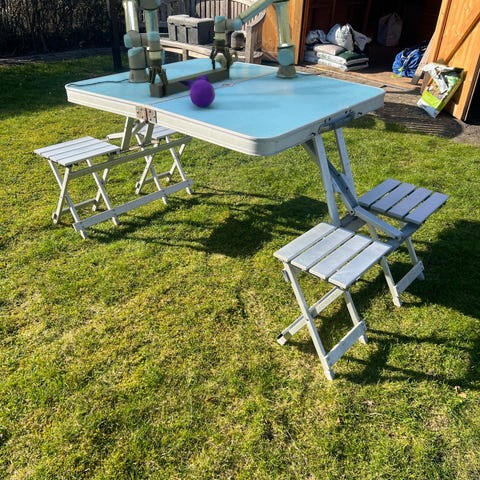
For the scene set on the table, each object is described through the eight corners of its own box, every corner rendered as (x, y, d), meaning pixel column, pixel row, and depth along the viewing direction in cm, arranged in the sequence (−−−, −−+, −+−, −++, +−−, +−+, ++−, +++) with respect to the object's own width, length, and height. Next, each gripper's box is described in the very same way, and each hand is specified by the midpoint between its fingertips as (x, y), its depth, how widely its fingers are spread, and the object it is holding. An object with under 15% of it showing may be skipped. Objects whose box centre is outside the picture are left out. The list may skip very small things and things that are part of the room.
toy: (202, 98, 286) (215, 113, 265) (176, 93, 278) (186, 109, 258) (208, 73, 277) (221, 86, 257) (180, 67, 270) (192, 81, 249)
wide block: (159, 97, 291) (158, 86, 287) (150, 96, 295) (149, 84, 291) (229, 78, 342) (229, 68, 338) (221, 77, 346) (220, 67, 342)
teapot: (219, 70, 373) (218, 50, 365) (212, 68, 382) (211, 49, 374) (241, 67, 382) (240, 48, 375) (234, 65, 391) (233, 46, 383)
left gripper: (172, 59, 281) (175, 95, 293) (148, 56, 292) (152, 92, 304) (163, 60, 276) (167, 98, 287) (139, 58, 287) (144, 94, 299)
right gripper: (236, 40, 323) (237, 71, 334) (210, 37, 336) (211, 67, 347) (230, 41, 318) (230, 72, 329) (203, 38, 331) (205, 69, 342)
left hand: (159, 95), depth 296 cm, fingers closed on wide block, 9 cm apart
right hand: (220, 70), depth 338 cm, fingers open, 13 cm apart
